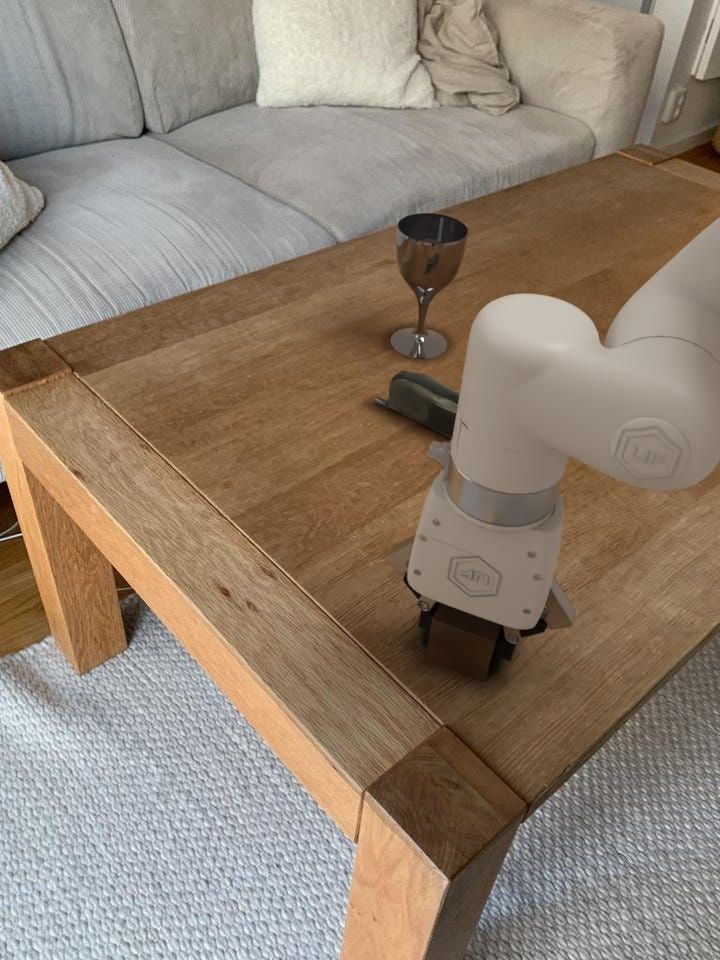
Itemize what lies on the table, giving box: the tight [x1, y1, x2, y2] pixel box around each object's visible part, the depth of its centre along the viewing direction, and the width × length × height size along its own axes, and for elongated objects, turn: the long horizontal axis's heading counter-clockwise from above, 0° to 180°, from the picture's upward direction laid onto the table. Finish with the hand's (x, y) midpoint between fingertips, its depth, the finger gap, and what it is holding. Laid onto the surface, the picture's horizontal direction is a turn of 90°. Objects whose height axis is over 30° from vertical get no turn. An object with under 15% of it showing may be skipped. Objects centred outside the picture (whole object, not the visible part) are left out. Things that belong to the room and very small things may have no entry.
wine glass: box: [389, 212, 469, 360], centre depth 97 cm, size 8×8×15 cm
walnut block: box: [424, 603, 503, 683], centre depth 65 cm, size 5×5×5 cm
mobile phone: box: [374, 370, 460, 440], centre depth 87 cm, size 5×3×15 cm
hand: (464, 644), depth 66 cm, fingers closed on walnut block, 5 cm apart
